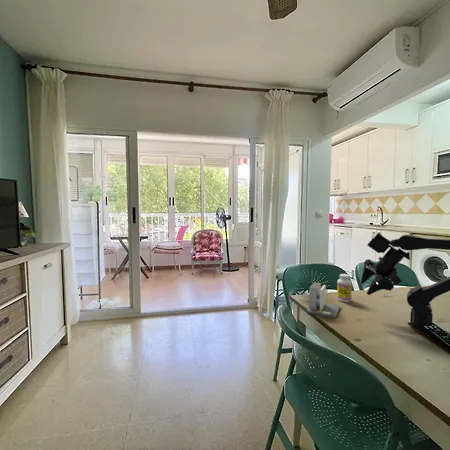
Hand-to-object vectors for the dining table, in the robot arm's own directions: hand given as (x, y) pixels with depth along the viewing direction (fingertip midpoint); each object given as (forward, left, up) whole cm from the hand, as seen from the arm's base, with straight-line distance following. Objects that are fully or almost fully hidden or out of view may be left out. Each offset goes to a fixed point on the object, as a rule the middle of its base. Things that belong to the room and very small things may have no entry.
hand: (364, 288), depth 114 cm
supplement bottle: (+20, -4, -12) cm, 24 cm away
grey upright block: (+11, +17, -10) cm, 23 cm away
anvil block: (+12, +16, -11) cm, 23 cm away
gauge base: (+9, +13, -12) cm, 20 cm away
